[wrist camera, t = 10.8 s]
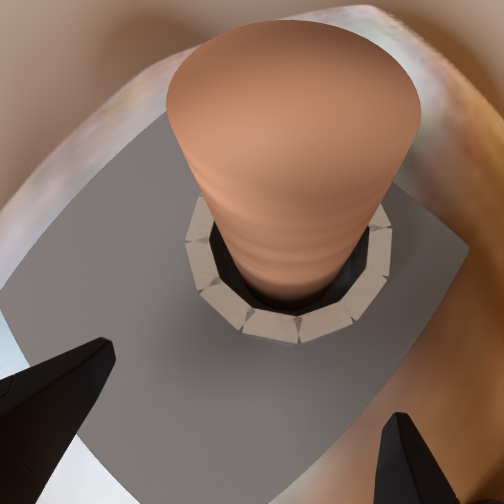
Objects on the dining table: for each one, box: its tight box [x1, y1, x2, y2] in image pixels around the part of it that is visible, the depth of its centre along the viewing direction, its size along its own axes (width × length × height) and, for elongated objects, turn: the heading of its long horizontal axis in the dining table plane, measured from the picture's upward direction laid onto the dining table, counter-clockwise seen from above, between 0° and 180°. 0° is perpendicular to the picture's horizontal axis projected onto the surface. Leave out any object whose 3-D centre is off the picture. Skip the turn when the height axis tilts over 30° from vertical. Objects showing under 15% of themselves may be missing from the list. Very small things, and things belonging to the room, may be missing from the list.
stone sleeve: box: [185, 193, 392, 347], centre depth 15 cm, size 8×8×4 cm
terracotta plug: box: [166, 20, 421, 311], centre depth 11 cm, size 5×5×12 cm
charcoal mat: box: [0, 111, 470, 504], centre depth 17 cm, size 22×24×1 cm
